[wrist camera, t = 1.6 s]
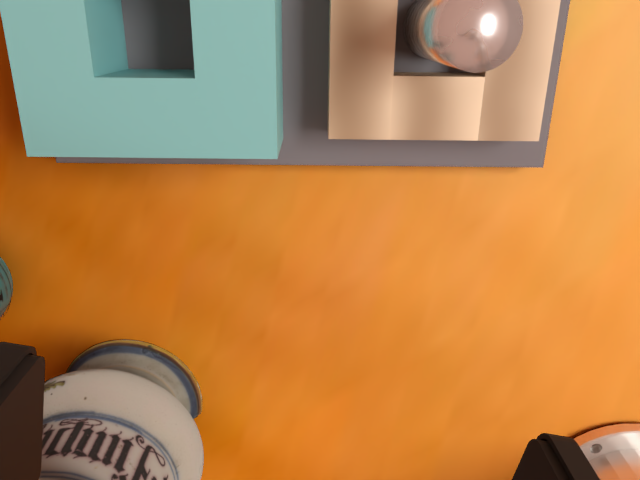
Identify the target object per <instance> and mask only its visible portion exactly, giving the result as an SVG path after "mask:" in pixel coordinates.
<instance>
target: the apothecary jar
mask: <svg viewBox="0 0 640 480" xmlns="http://www.w3.org/2000/svg"><path fill="white" fill-rule="evenodd" d="M201 412H202V396H201V391H200V387H199V385H198V383H197V381H196V379H195V377H194V376H193V374H192V373H191V371H190V370H189V369H188V368H187V366H186V365H185V364H184V363H183V362H182V361H181V360H180V359H178V358H177V357H176V356H174V355H173V354H172V353H170V352H168V351H167V350H165V349H163V348H160V347H158V346H156V345H153V344H150V343H146V342H142V341H135V340H113V341H107V342H104V343H100V344H98V345H95V346H93V347H91V348H89V349H87V350H86V351H84V352H83V353H82V354H80V355H79V356H78V357H77V358H76V359H75V360H74V361H73V362H72V363H71V365H70V366H69V368H68V370H67V372H66V374H62V375H59V376H57V377H54V378H52V379H49V380H47V381H45V382H44V407H43V434H42V462H41V473H40V477H39V480H200V479H201V476H202V471H203V462H204V453H203V445H202V440H201V436H200V433H199V430H198V428H197V426H196V423H195V421H194V420H193V419H194V418H196V417H197V416H198V415H199V414H200V413H201Z"/></svg>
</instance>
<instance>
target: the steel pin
mask: <svg viewBox="0 0 640 480" xmlns="http://www.w3.org/2000/svg"><path fill="white" fill-rule="evenodd" d="M522 31H523V14H522V10H521V7H520V4H519V2H518V0H417V1H416V2H415V3H414V4H413V5H412V6H411V7H410V8H409V10H408V12H407V14H406V16H405V19H404V24H403V33H404V38H405V41H406V43H407V45H408V47H409V48H410V49H411V50H412V51H413V52H414V53H415V54H417V55H418V56H420V57H423V58H426V59H429V60H432V61H435V62H438V63H441V64H445V65H448V66H451V67H454V68H457V69H460V70H463V71H467V72H472V73H480V72H486V71H489V70H492V69H494V68H496V67H498V66H500V65H501V64H503V63H504V62H505V61H506V60H507V59H508V58H509V57H510V56H511V55H512V54H513V52H514V51H515V49H516V48H517V46H518V44H519V41H520V39H521V36H522Z"/></svg>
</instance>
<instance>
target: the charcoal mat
mask: <svg viewBox="0 0 640 480" xmlns="http://www.w3.org/2000/svg"><path fill="white" fill-rule="evenodd" d="M416 1H417V0H398V6H397V24H396V41H395V58H394V72H444V73H472V72H467V71H463V70H460V69H457V68H454V67H451V66H448V65H445V64H441V63H438V62H435V61H432V60H429V59H426V58H423V57H420V56H418V55H417V54H415V53H414V52H413V51H412V50H411V49H410V48H409V47H408V45H407V43H406V41H405V38H404V33H403V24H404V19H405V16H406V14H407V12H408V10H409V8H410V7H411V6H412V5H413V4H414V3H415V2H416ZM569 4H570V0H561V2H560V9H559V15H558V21H557V28H556V34H555V41H554V47H553V53H552V60H551V66H550V73H549V79H548V85H547V92H546V98H545V105H544V111H543V117H542V124H541V130H540V137H539V141H464V140H367V139H328V72H329V11H330V0H281V5H282V83H283V141H282V145H281V148H280V152H279V155H278V159H219V158H118V157H56V162H57V163H150V164H252V165H354V166H455V167H543V165H544V158H545V152H546V146H547V140H548V134H549V128H550V121H551V115H552V109H553V103H554V97H555V91H556V84H557V78H558V72H559V66H560V60H561V53H562V47H563V41H564V35H565V29H566V23H567V16H568V10H569ZM121 5H122V14H123V23H124V32H125V42H126V51H127V60H128V69H184V70H194V56H193V41H192V27H191V12H190V0H121Z"/></svg>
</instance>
